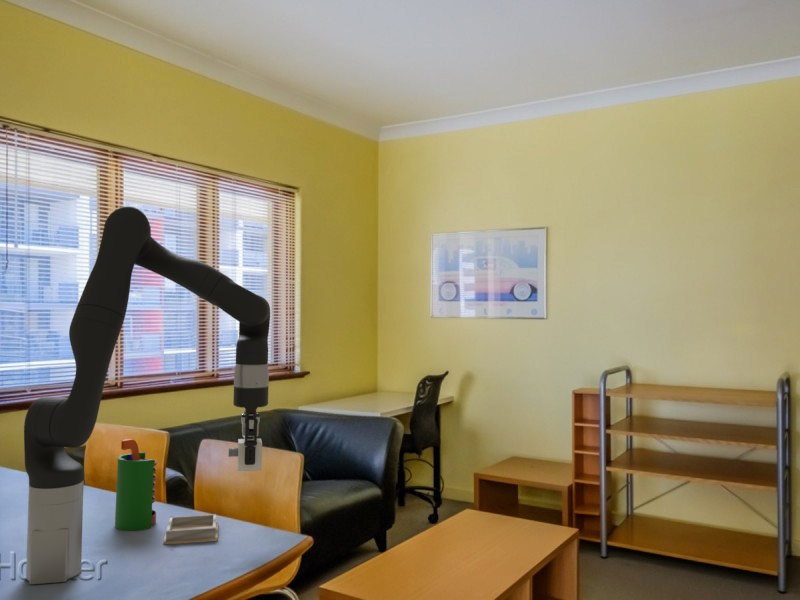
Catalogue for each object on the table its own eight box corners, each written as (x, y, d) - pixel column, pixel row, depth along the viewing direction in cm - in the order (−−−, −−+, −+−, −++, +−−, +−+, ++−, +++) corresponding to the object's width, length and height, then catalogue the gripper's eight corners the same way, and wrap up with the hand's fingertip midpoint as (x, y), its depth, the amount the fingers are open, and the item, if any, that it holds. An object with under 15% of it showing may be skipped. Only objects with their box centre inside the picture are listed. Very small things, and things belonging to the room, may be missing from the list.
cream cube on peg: (261, 470, 143) (262, 442, 143) (228, 471, 141) (229, 443, 141) (260, 465, 148) (261, 438, 148) (228, 466, 146) (228, 439, 146)
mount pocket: (217, 540, 143) (217, 528, 143) (163, 544, 140) (163, 532, 140) (218, 524, 154) (218, 513, 154) (167, 527, 151) (167, 516, 151)
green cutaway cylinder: (164, 524, 153) (166, 439, 154) (126, 533, 147) (129, 444, 147) (144, 515, 160) (146, 433, 161) (107, 523, 154) (109, 437, 154)
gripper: (270, 387, 139) (268, 468, 139) (266, 381, 153) (264, 454, 153) (234, 388, 137) (232, 469, 137) (233, 381, 151) (231, 455, 151)
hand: (249, 461), depth 145 cm, fingers closed on cream cube on peg, 5 cm apart
